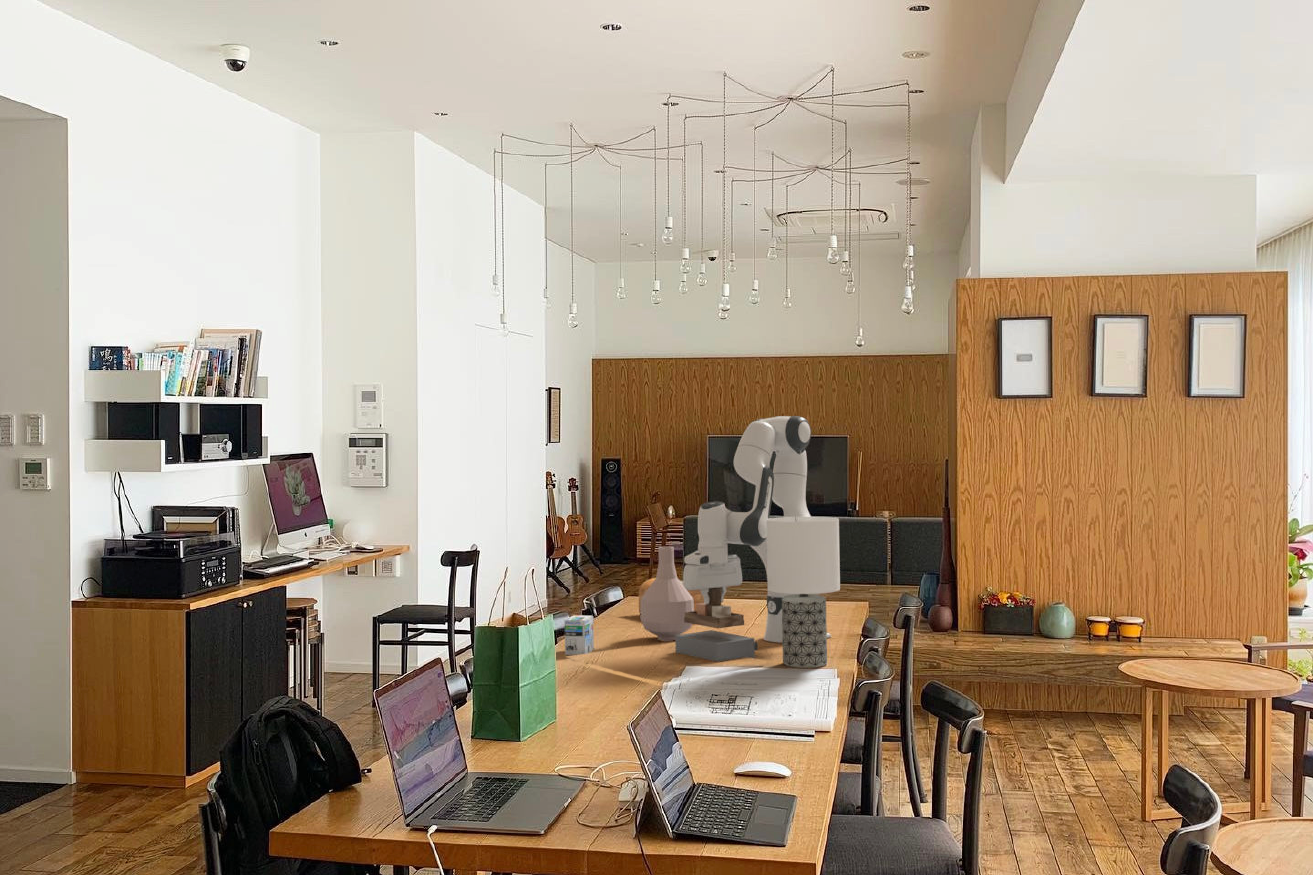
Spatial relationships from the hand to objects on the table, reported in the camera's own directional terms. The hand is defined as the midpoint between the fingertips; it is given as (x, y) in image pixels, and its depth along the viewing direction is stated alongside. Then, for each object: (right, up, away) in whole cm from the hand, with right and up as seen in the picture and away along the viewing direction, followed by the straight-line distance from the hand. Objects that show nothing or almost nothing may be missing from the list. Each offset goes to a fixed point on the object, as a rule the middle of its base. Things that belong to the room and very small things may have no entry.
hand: (713, 602), depth 350 cm
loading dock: (0, -16, 0) cm, 16 cm away
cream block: (+2, -5, -3) cm, 6 cm away
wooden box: (-9, -17, +78) cm, 80 cm away
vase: (-13, -17, +32) cm, 39 cm away
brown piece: (0, -6, 0) cm, 6 cm away
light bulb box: (-41, -17, +12) cm, 46 cm away
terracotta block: (-2, -5, +3) cm, 6 cm away
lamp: (+25, -16, -13) cm, 33 cm away
